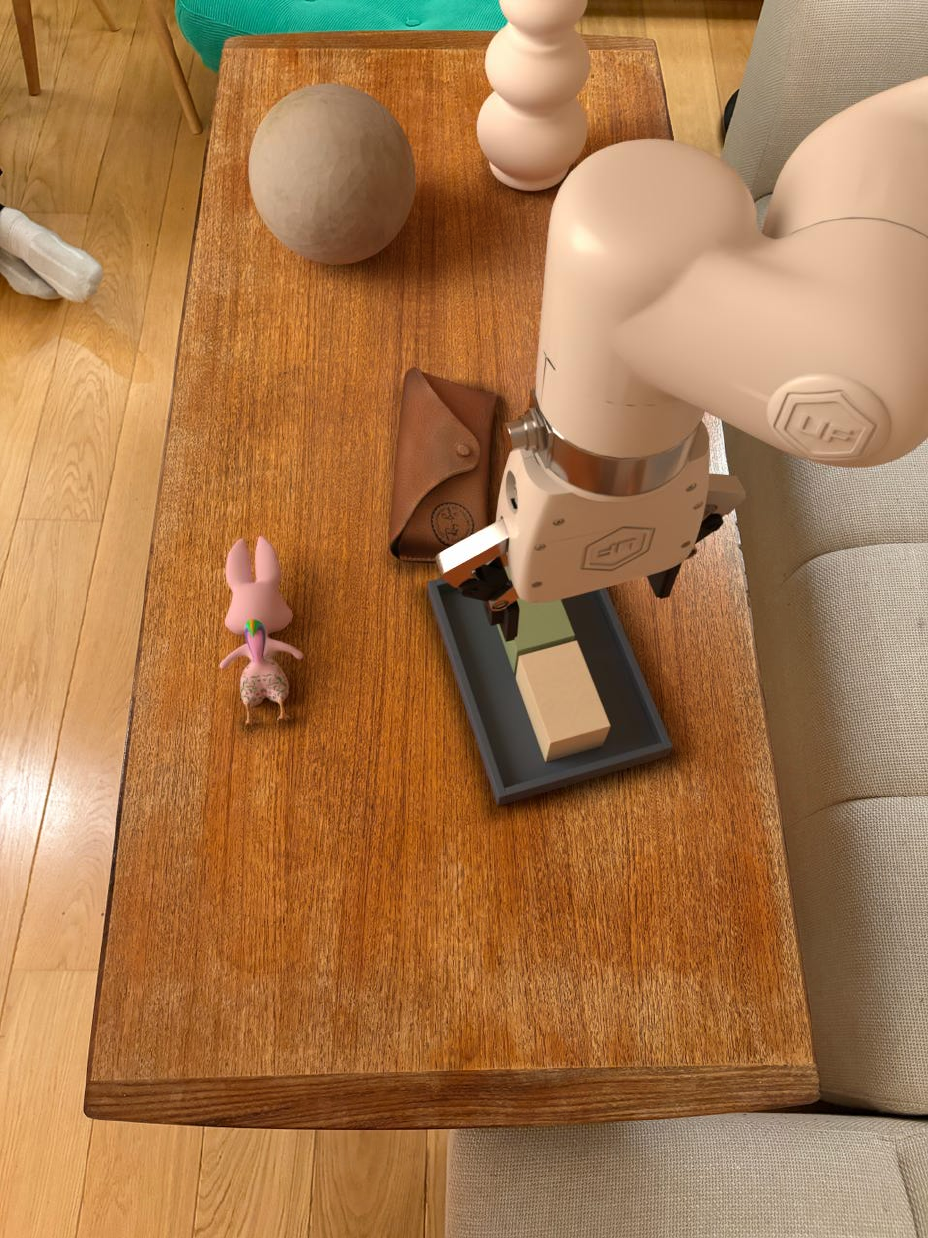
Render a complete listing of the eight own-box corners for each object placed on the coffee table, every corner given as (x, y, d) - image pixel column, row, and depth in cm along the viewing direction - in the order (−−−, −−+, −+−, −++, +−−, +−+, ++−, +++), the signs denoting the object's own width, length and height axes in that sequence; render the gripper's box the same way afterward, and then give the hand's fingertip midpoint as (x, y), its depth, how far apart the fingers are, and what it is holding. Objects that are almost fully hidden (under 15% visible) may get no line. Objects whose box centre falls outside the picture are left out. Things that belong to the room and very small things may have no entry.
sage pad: (540, 582, 80) (544, 556, 77) (569, 658, 77) (575, 635, 74) (486, 596, 80) (488, 570, 76) (513, 673, 77) (517, 650, 73)
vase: (594, 196, 102) (636, -68, 79) (489, 212, 100) (502, -51, 78) (565, 126, 106) (596, -141, 84) (464, 140, 105) (469, -127, 83)
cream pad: (571, 663, 77) (577, 640, 74) (603, 746, 74) (611, 726, 71) (515, 678, 76) (518, 655, 73) (545, 762, 73) (550, 743, 70)
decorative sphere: (267, 190, 101) (239, 46, 88) (416, 187, 102) (411, 44, 88) (259, 300, 94) (228, 162, 81) (419, 298, 95) (414, 160, 82)
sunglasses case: (495, 561, 81) (453, 521, 76) (421, 581, 84) (376, 543, 79) (499, 387, 89) (461, 340, 84) (431, 411, 93) (391, 367, 87)
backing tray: (583, 553, 82) (586, 540, 80) (667, 756, 74) (673, 747, 73) (428, 593, 80) (427, 581, 79) (497, 806, 72) (498, 797, 71)
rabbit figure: (312, 721, 77) (293, 540, 81) (304, 703, 71) (284, 510, 75) (229, 733, 76) (215, 550, 81) (214, 715, 70) (199, 519, 75)
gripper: (456, 531, 43) (460, 692, 58) (825, 435, 45) (736, 614, 60) (409, 399, 46) (424, 584, 61) (755, 316, 49) (687, 514, 64)
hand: (579, 599), depth 61 cm, fingers open, 9 cm apart
